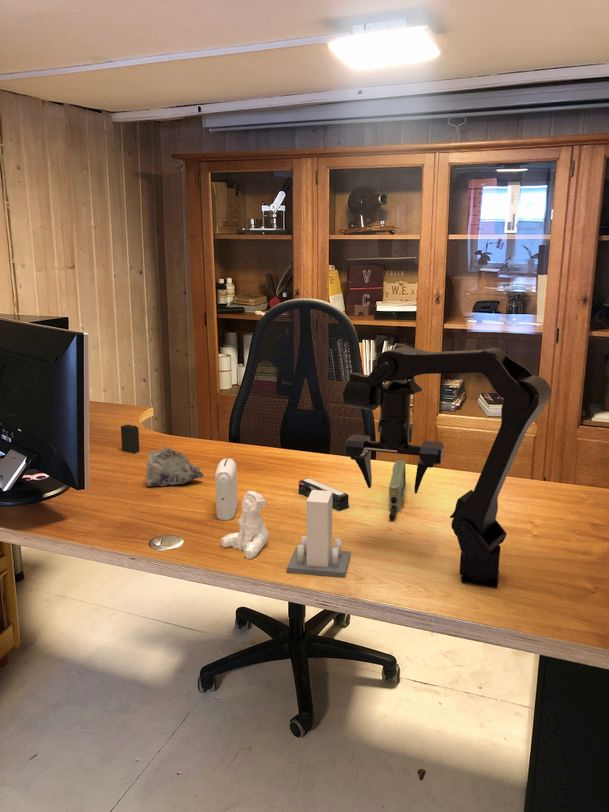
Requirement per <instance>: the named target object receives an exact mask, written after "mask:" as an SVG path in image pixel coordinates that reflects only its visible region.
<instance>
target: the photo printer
mask: <svg viewBox="0 0 609 812" xmlns="http://www.w3.org/2000/svg"><path fill="white" fill-rule="evenodd" d="M237 468H238V467H237V463H236V462H235V460H234V459H232V458H226V457H225V458H223V459H222V460H220V462H219V463H218V465H217V467H216V470H215V475H214V476H215V477H214V478H215V480H214V481H215V504H216V505H215V506H216V509H215V510H216V518H217V519H218V520H220V521H230V520H232V519H233V518H234V517H235V514H236V511H237V506H238V475H237Z"/></svg>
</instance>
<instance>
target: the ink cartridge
mask: <svg viewBox="0 0 609 812" xmlns="http://www.w3.org/2000/svg"><path fill="white" fill-rule="evenodd" d="M139 433H140V432H139V427H138V426H137V425H133V424H124V425H122V426H121V425H120V434H121V435H120V436H121V451H122V452H125V453H129V454H136V453H139V452H140V451H141V450H140V436H139V435H140V434H139Z"/></svg>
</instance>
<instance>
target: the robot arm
mask: <svg viewBox="0 0 609 812" xmlns="http://www.w3.org/2000/svg"><path fill="white" fill-rule="evenodd" d="M466 373H467V374H468V373H469V374H470V373H473V374H475V373H481V374H482V375H484V376H485V377H486V378H487V381H488V382H489V384H490V385H491V386H492V388H493V390H494V391H495V392H496V393H497V394H498V395H499V396H500V397H501V398H502V405H501V409H500V416H501V417H500V418H501V419H500V421H501V422H500V426H499V429H498V431H497V433H496V437H495V438H494V441H493V443H492V446H491V447H490V450H489V452H488V456H487V458H486V461H485V462H484V465H483V468H482V470H481V472H480V475H479V477H478V479H477V482H476V485H475V486H474V489H470V490H468V491H467V492H466V493H464V494H463V495H462V496H460V497H459V498H458V499H457V500H456V503H455V507H454V508H455V509H454V511H453V512H452V514H450V516H449V518H451V519H452V520H451V525H450V526H451V530H452V531H453V534H454V535H455V536H456V538H457V542H458V545H459V549H460V559H459V572H458V573H459V575H460V576H461V579H460V582H461V583H462V584H468V585H474V586H481V587H486V588H487V587H488V588H494V589H497V588H498V587H499V580H500V571H501V570H500V559H501V545H500V544H503V542H504V541H505V540H506V538H507V536H508V535H507V534H508V533H507V532H506V530H505V529H504V528H503V526H501V524H500V523H499V522H498V520H497V514H498V512H499V511H498V510H499V503H498V502H499V495H500V493H501V490H502V488H503V486H504V483H505V481H506V479H507V477H508V474H509V472H510V470H511V467H512V465H513V463H514V461H515V458H516V456H517V454H518V451H519V450H520V447H521V445H522V442H523V440H524V438H525V435H526V433H527V431H528V430H529V428H531V426H532V425H533V423H535V421H536V419H537V418H538V417H539V416H540V415H541V413H542V411H543V410H544V409H545V407H546V406H547V404H548V403H549V401H550V399H551V397H552V389H551V387H550V384H549V383H548V381H547V380H546V379H544V378H543V377H541V376H539V375H534V373H532V372H531V371H530V370H529V369H528V368H527V367H525V366H524V365H522V364H520V363H519V362H518V361H515V360H513V358H511V357H510V356H509V355H508V354H506V353H505V352H504V351H503V350H502V349H500V348H498V347H491V348H489V349H473V350H472V349H469V350H467V349H466V350H450V351H449V350H448V351H445V350H444V351H426V350H423V349H419V348H413V347H408V346H407V347H406V346H401V347H398V348H393V349H389V350H386V351H383V352H381V353H380V354H379V356H378V358H377V359H376V366H375V367H374V368H373V370H371V372H370V373H369V374H363V373H360V372H352V373H350V374H349V379H348V381H347V382H346V383H345V386H344V390H343V392H342V398H343V402H344V404H345V405H346V406H347V407H351V408H357V409H358V408H359V409H362V410H368V411H376V410H377V409H378V408H380V409H379V410H380V412H379V419H378V424H377V432H378V433H379V441H373V440H371V437H370V435H366V434H365V435H364V434H355V433H354V434H352V435H350V436H349V438H348V439H346V440H345V442H344V445H343V454H344V455H346V456H350V460H352V461H355V463H356V464H357V466H358V467H359V470H360V471H361V474H362V475H363V478H364V481H365V484H366V485H367V488H368V489H371V488H372V481H373V479H372V478H373V475H372V463H371V459H372V452H379V453H387V454H388V453H389V454H398V455H409V456H417V457H418V456H419V460H418V462H417V466H416V473H415V480H414V487H413V489H414V494H415V495H416V494H418V491H419V489H420V486H421V483H422V480H423V478H424V475H425V473H426V472H427V469H428V468H429V469H430V468H431V469H432V468H434V466H435V465H439V464H442V460H443V459H444V457H445V445H444V444H443V442H440V441H431V440H430V441H429V440H423V441H422V444H421V445H417V444H410V443H412V441H413V433H414V425H413V424H412V423H411V401H412V396H413V395H415V394H418V393H421V392H422V391H423V389H422V387H421V386H420V385H419V384H417V383H416V381H415V379H409V380H407V381H406V382H403V381H402V382H401V381H399V380H404V379H407V378H413V377H417V376H421V375H428V374H429V375H430V374H431V375H432V374H433V375H434V374H466ZM386 382H390V384H385V383H386Z"/></svg>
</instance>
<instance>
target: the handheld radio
mask: <svg viewBox="0 0 609 812" xmlns="http://www.w3.org/2000/svg"><path fill="white" fill-rule="evenodd" d="M406 475H407V474H406V461H405V460H402V459H401V460H400V459H399V460H396V461H395V463H394V464H393V467H392V475H391V479H390V482H389V487H388V490H389V491H388V496H389V497H388V498H389V501H388V503H389V512H390V513H389V517H388V518H389V520H390V521H394V520H395V519H396V515H397V514H398V513H400V512H401V510H402V509H401V508H402V505H403V503H404V497H405V489H406V479H407V478H406V477H407V476H406Z"/></svg>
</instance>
